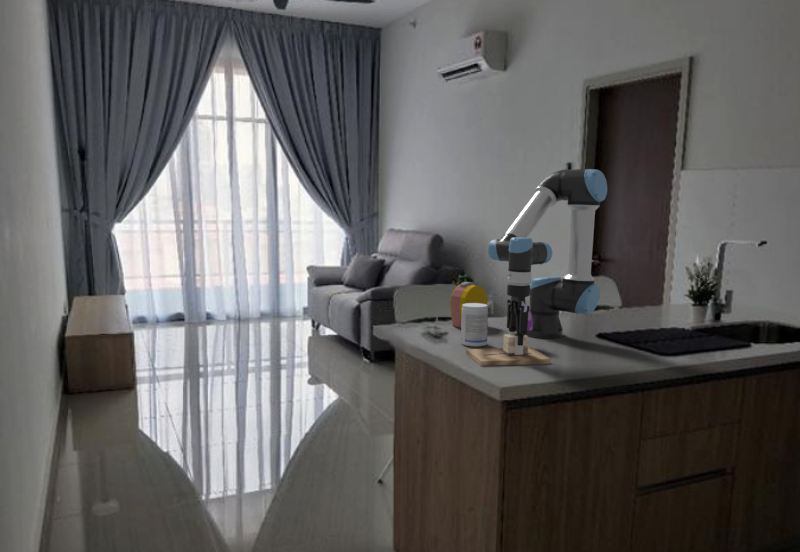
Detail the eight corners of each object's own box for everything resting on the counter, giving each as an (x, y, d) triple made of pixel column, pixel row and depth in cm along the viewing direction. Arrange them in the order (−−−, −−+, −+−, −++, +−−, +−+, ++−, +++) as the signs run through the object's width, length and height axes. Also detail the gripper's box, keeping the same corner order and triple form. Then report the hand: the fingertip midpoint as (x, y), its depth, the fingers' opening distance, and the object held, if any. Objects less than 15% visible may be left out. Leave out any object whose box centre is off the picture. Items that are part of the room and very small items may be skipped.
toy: (533, 345, 232) (535, 305, 230) (530, 349, 226) (532, 307, 224) (514, 343, 234) (516, 303, 232) (511, 347, 228) (513, 306, 226)
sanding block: (522, 351, 215) (523, 333, 215) (527, 354, 211) (528, 336, 210) (502, 351, 214) (503, 334, 213) (507, 354, 210) (508, 337, 209)
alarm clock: (471, 321, 273) (473, 279, 271) (486, 325, 267) (488, 282, 265) (448, 326, 263) (449, 282, 261) (463, 329, 257) (464, 284, 255)
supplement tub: (492, 345, 230) (493, 305, 228) (472, 348, 225) (473, 307, 223) (475, 340, 238) (476, 301, 236) (455, 343, 233) (456, 303, 231)
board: (531, 351, 222) (531, 347, 222) (550, 363, 207) (551, 358, 207) (466, 353, 218) (466, 348, 217) (480, 365, 202) (481, 360, 202)
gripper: (498, 280, 217) (495, 346, 220) (518, 287, 200) (515, 359, 203) (519, 280, 219) (516, 346, 222) (540, 287, 202) (536, 358, 205)
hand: (515, 352), depth 212 cm, fingers closed on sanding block, 4 cm apart
